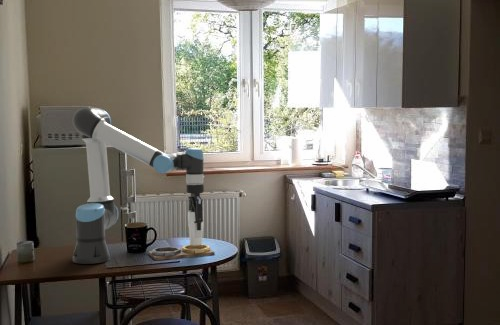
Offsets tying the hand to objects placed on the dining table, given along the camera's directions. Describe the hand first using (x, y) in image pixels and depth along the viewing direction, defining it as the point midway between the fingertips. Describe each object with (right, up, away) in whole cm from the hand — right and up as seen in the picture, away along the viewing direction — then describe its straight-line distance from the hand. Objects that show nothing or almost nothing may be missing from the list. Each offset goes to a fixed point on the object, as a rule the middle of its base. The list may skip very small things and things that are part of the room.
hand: (196, 236), depth 255 cm
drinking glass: (0, -4, 0) cm, 4 cm away
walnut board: (-6, -8, -2) cm, 10 cm away
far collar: (0, -6, 0) cm, 6 cm away
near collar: (-12, -7, -4) cm, 15 cm away
